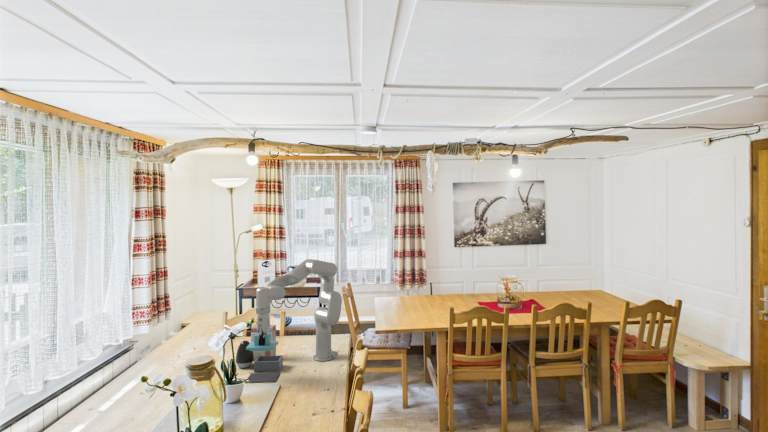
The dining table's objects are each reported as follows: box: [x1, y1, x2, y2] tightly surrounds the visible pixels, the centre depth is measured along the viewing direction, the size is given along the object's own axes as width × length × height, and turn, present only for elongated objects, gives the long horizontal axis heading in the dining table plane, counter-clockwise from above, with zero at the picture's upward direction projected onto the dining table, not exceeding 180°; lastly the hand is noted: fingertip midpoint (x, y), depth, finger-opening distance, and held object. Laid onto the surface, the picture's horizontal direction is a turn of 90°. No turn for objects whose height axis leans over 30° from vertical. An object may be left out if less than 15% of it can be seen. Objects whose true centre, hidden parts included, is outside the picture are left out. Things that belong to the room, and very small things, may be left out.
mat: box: [245, 371, 281, 384], centre depth 207 cm, size 12×16×1 cm
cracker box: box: [250, 324, 277, 362], centre depth 235 cm, size 14×6×21 cm, turn 84°
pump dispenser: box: [235, 339, 254, 369], centre depth 224 cm, size 10×10×15 cm
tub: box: [253, 354, 284, 373], centre depth 220 cm, size 10×14×6 cm
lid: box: [246, 334, 279, 351], centre depth 207 cm, size 11×15×7 cm
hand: (262, 343), depth 207 cm, fingers closed on lid, 3 cm apart
